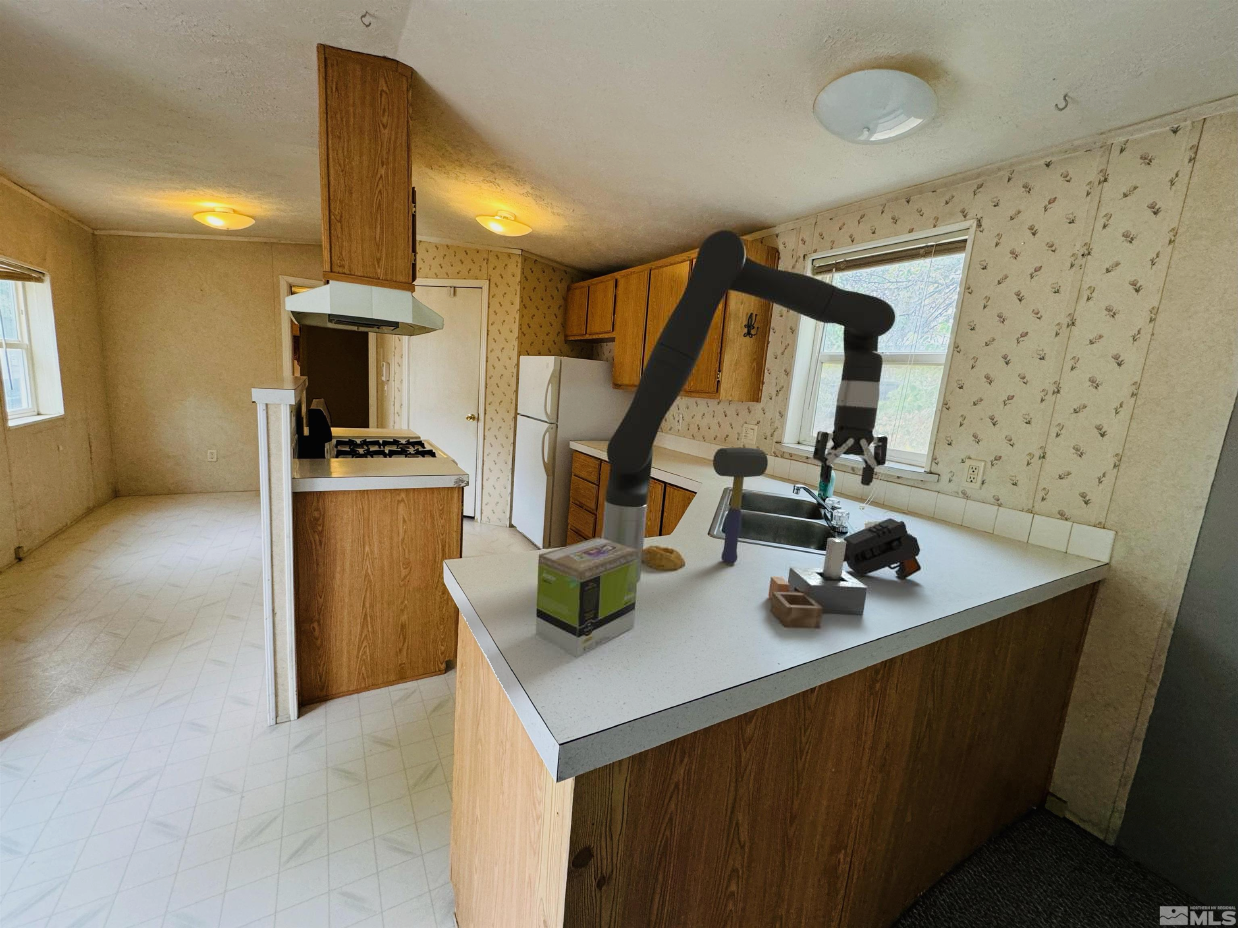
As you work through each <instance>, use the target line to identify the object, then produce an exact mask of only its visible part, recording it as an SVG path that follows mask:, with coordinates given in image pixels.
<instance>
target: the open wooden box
mask: <svg viewBox="0 0 1238 928" xmlns="http://www.w3.org/2000/svg"><path fill="white" fill-rule="evenodd" d="M770 600H771V602H770V608H769V609H770V612H771V613H772V614H773V616H774V617H775V618H776V619H777V620H778V621H779V623H780V624H781V625H782V626H783V627H784V628H798V629H799V628H800V629H801V628H803V629H820V628H821V623H822V618H823V614H822V611H823V608H822V607H821V606H820V605H818V604H817V603H816V602H815V601H814V600H813V599H812V598H811V597H810V596H809V595H808V594H806V593H792V592H773V593H772V599H770Z"/></svg>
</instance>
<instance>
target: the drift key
mask: <svg viewBox="0 0 1238 928" xmlns="http://www.w3.org/2000/svg"><path fill="white" fill-rule="evenodd" d="M769 581H770V582H769V588H768V595H767V596H768V597H769V598H770V600H772V593H773V592H792V593H801V592H800V591H789V585H790V584H789V583H788V581H787V580H785V578H784V577H782V576H770V579H769Z"/></svg>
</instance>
